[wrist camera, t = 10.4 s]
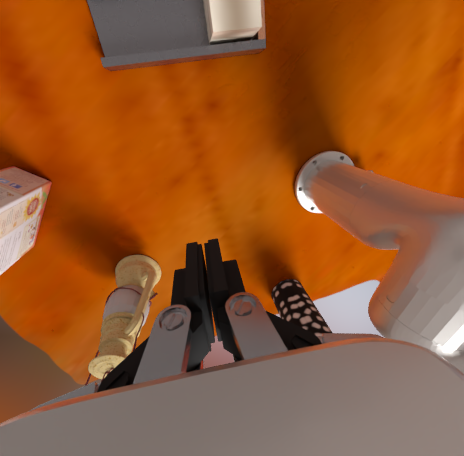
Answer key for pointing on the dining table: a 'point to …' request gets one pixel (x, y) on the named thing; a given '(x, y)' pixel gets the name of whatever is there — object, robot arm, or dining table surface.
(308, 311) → the white-spotted black cylinder
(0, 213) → the cracker box
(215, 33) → the block
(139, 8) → the grey shallow tray
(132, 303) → the lantern
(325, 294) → the dining table surface
